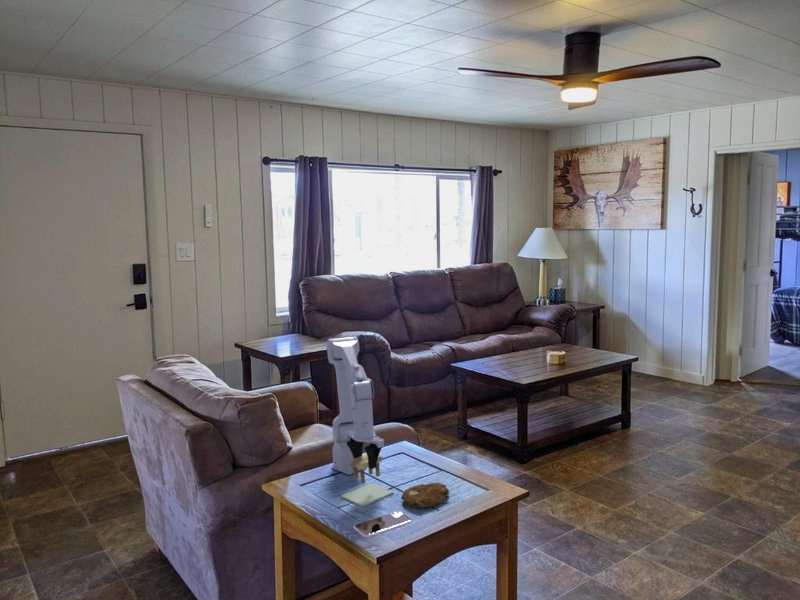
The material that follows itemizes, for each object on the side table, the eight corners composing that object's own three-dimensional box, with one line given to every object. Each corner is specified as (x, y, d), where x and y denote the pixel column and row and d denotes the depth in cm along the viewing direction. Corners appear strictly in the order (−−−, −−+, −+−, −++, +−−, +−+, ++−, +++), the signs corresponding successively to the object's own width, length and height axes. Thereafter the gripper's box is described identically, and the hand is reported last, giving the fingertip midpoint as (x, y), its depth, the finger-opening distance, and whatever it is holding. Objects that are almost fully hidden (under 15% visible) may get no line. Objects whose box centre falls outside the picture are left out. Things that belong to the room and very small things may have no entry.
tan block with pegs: (350, 480, 182) (349, 460, 182) (370, 471, 188) (368, 452, 188) (363, 484, 179) (362, 464, 178) (382, 475, 184) (381, 456, 184)
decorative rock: (431, 488, 188) (394, 506, 178) (429, 475, 188) (393, 492, 178) (459, 497, 180) (422, 516, 170) (457, 483, 179) (420, 502, 170)
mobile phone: (351, 524, 165) (399, 509, 173) (351, 528, 165) (399, 512, 173) (365, 536, 158) (414, 519, 166) (365, 539, 158) (414, 522, 166)
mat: (340, 497, 183) (340, 495, 183) (371, 484, 192) (371, 483, 192) (362, 507, 176) (362, 505, 176) (393, 493, 184) (393, 491, 184)
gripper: (390, 422, 179) (392, 467, 181) (356, 413, 189) (358, 456, 191) (373, 428, 174) (375, 474, 176) (339, 419, 184) (341, 463, 186)
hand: (365, 465), depth 183 cm, fingers closed on tan block with pegs, 5 cm apart
